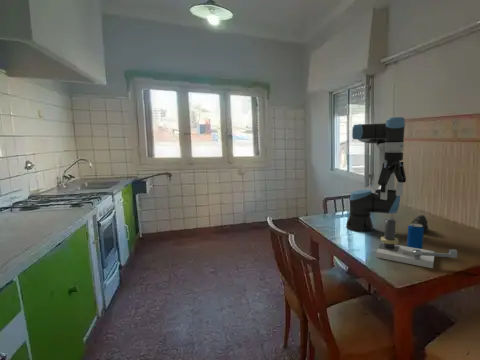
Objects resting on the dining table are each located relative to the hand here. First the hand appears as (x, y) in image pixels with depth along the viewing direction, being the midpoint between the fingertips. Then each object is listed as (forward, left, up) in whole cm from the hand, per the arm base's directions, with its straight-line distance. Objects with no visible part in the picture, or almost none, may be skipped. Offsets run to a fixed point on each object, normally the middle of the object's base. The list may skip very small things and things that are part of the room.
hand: (391, 197), depth 136 cm
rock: (+8, +46, -27) cm, 54 cm away
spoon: (+18, -6, -22) cm, 29 cm away
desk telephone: (+7, -2, -27) cm, 28 cm away
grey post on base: (0, 0, -24) cm, 24 cm away
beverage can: (+10, +12, -27) cm, 31 cm away
